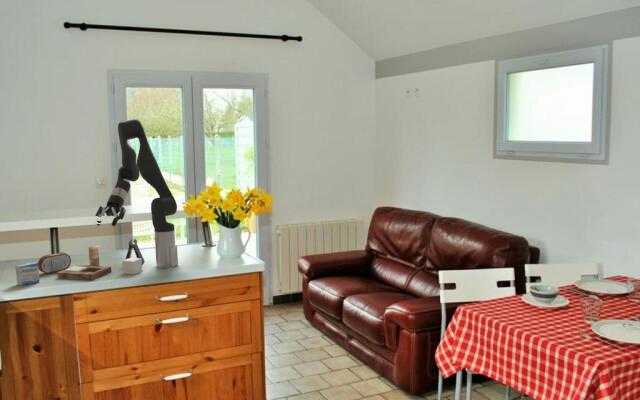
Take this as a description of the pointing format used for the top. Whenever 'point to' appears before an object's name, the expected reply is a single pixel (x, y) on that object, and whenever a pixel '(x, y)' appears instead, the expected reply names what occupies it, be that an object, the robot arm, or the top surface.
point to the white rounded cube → (132, 265)
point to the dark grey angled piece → (136, 249)
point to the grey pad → (75, 268)
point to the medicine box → (27, 273)
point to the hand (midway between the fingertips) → (105, 225)
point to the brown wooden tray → (85, 272)
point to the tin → (54, 262)
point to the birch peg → (94, 256)
